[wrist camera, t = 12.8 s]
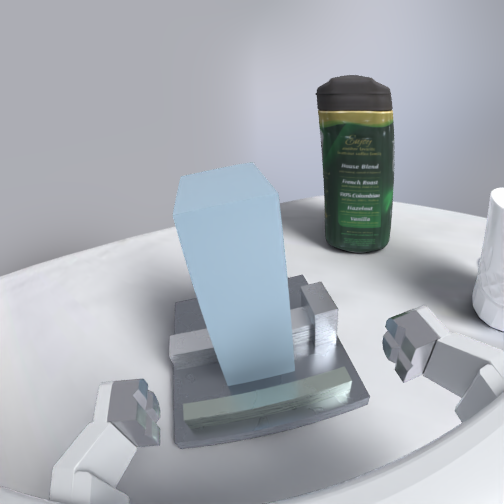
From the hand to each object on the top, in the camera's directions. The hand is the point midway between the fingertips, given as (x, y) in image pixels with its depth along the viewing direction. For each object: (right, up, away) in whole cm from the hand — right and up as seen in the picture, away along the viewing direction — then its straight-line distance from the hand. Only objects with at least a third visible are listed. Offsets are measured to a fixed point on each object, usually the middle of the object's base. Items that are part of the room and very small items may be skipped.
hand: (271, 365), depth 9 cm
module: (-1, -3, +12) cm, 13 cm away
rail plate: (0, -4, +13) cm, 13 cm away
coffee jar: (+12, +5, +26) cm, 29 cm away
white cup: (+22, -2, +11) cm, 25 cm away
